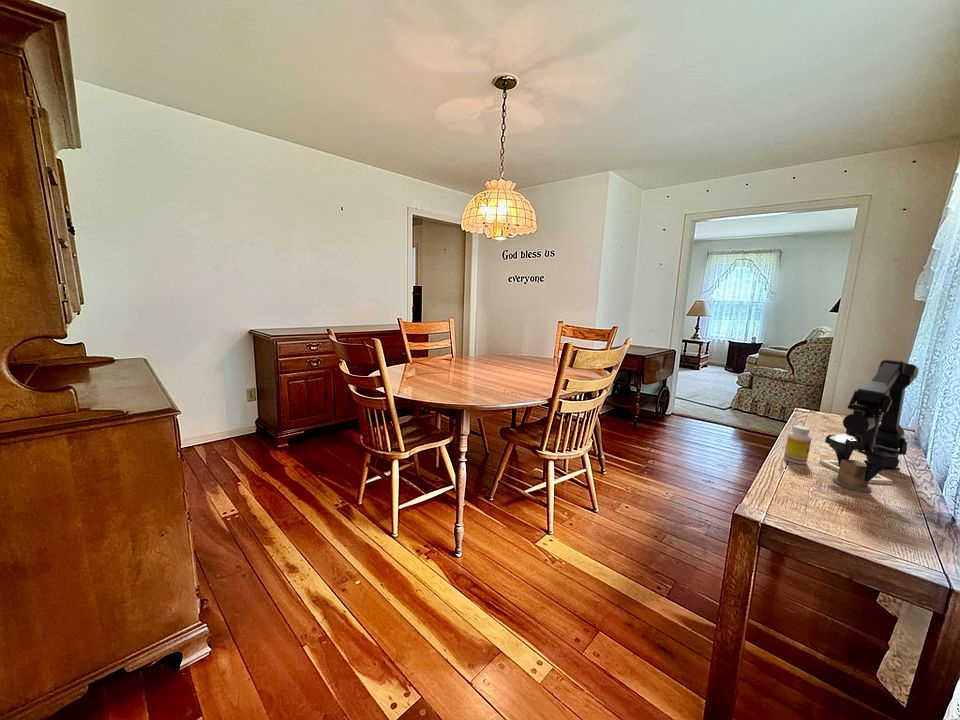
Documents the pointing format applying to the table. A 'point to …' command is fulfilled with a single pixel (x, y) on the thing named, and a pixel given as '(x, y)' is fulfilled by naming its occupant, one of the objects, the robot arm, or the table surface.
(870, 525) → the table surface
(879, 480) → the pocket frame
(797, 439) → the supplement bottle
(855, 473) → the block
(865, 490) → the coaster
